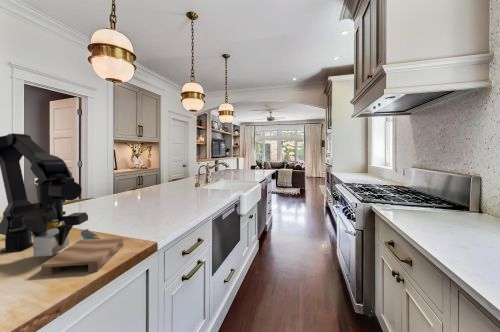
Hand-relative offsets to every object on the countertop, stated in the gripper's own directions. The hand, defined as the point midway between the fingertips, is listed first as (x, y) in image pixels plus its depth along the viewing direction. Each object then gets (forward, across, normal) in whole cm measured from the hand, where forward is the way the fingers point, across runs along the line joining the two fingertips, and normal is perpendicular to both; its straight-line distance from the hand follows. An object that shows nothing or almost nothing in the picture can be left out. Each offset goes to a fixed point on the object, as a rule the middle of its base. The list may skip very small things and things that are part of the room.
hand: (52, 245), depth 71 cm
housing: (+2, 0, 0) cm, 2 cm away
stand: (+4, +12, -3) cm, 13 cm away
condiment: (+4, -18, +26) cm, 32 cm away
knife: (+4, +2, +18) cm, 19 cm away
